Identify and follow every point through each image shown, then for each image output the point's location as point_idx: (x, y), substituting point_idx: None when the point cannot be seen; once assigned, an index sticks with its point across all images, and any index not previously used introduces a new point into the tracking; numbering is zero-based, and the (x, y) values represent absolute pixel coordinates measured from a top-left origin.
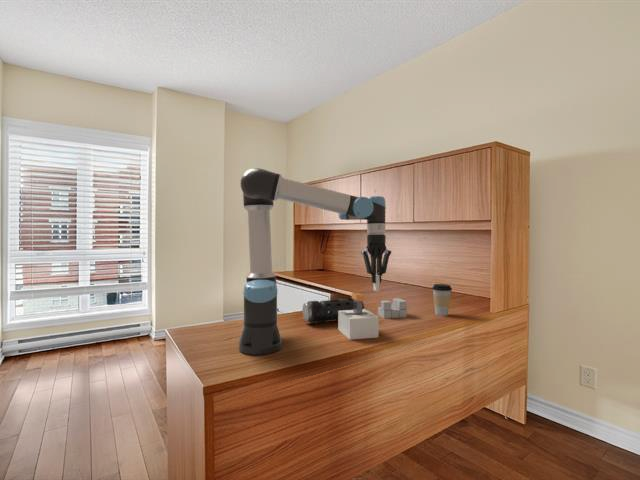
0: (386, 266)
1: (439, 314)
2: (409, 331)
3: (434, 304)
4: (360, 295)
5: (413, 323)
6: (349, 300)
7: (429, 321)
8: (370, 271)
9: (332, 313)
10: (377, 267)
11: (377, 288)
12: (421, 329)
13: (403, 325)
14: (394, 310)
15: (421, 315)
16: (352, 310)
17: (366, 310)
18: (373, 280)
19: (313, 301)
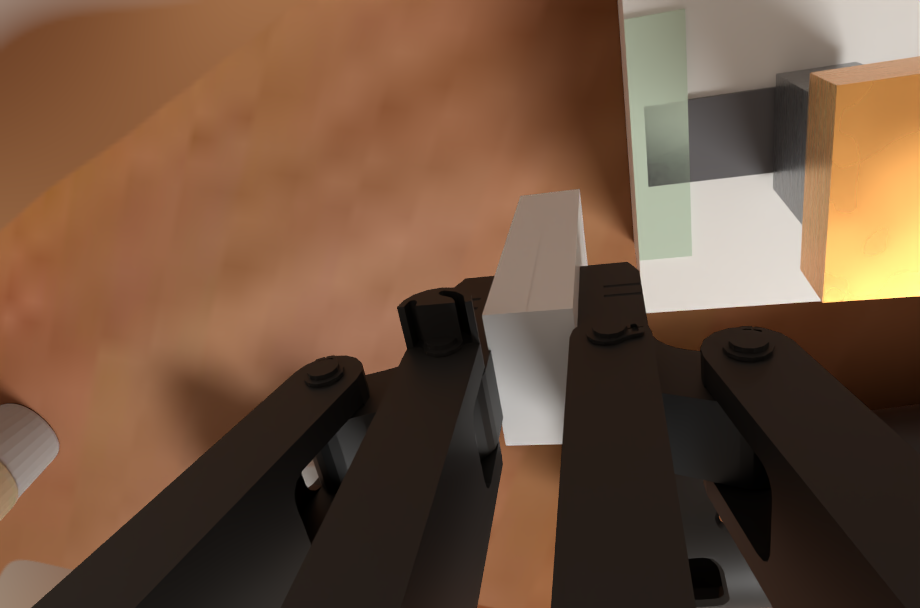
0: (195, 475)
1: (33, 420)
2: (307, 93)
3: (14, 490)
4: (915, 73)
5: (233, 285)
6: (711, 553)
7: (119, 312)
8: (765, 368)
9: (913, 419)
10: (472, 537)
11: (554, 206)
12: (208, 134)
13: (314, 250)
14: (312, 465)
15: (147, 443)
16: (799, 278)
17: (652, 238)
18: (627, 287)
19: None
